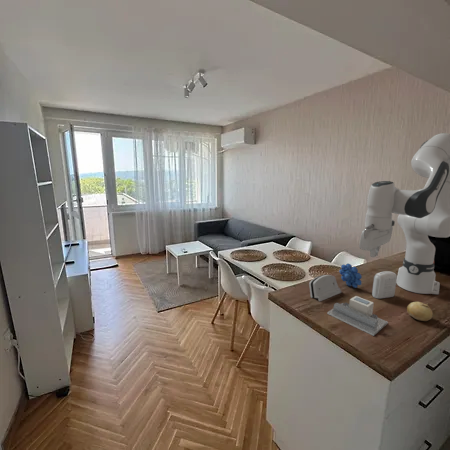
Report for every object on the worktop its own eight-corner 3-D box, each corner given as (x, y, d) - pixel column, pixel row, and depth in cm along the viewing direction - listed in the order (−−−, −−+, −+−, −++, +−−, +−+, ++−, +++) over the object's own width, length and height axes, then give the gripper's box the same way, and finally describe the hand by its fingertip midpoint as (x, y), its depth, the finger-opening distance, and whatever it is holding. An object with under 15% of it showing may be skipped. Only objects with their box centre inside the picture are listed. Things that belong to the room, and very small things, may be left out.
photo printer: (388, 292, 118) (391, 268, 116) (395, 297, 114) (399, 272, 112) (370, 295, 116) (372, 271, 113) (377, 299, 112) (380, 274, 109)
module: (354, 308, 104) (355, 295, 102) (372, 316, 98) (373, 301, 97) (348, 312, 101) (349, 298, 99) (366, 320, 95) (367, 306, 94)
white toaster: (319, 301, 111) (314, 279, 112) (311, 300, 115) (306, 279, 116) (341, 292, 119) (337, 272, 120) (333, 291, 123) (329, 272, 124)
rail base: (342, 304, 109) (342, 296, 108) (387, 323, 94) (388, 314, 94) (327, 313, 102) (327, 305, 101) (373, 336, 87) (374, 326, 87)
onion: (410, 321, 95) (412, 305, 94) (403, 311, 103) (405, 295, 101) (435, 325, 93) (438, 308, 91) (426, 314, 100) (428, 298, 99)
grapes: (333, 284, 128) (335, 262, 125) (341, 281, 132) (343, 260, 129) (355, 293, 118) (358, 269, 116) (363, 289, 122) (365, 266, 120)
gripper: (374, 228, 87) (370, 264, 90) (396, 221, 99) (392, 253, 102) (356, 225, 92) (353, 259, 95) (379, 218, 104) (376, 249, 107)
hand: (373, 256), depth 99 cm, fingers closed
